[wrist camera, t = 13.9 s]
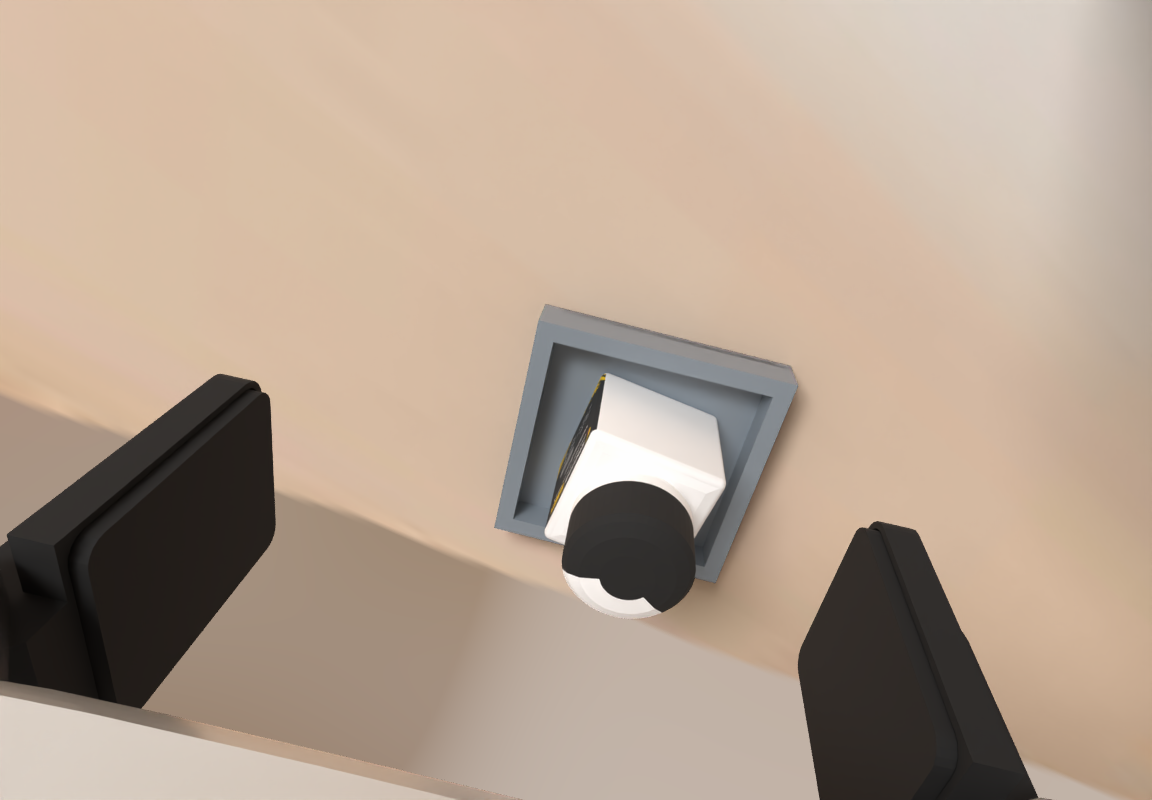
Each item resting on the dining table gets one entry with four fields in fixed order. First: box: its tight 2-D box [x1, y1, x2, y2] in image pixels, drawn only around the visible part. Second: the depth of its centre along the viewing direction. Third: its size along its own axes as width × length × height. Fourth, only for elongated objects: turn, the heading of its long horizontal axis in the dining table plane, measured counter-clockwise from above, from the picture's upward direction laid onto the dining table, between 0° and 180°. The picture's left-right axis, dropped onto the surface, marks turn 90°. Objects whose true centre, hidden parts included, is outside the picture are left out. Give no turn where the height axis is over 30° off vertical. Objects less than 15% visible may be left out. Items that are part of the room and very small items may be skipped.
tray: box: [494, 304, 798, 583], centre depth 42 cm, size 14×14×2 cm
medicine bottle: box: [545, 373, 726, 619], centre depth 37 cm, size 7×7×12 cm
